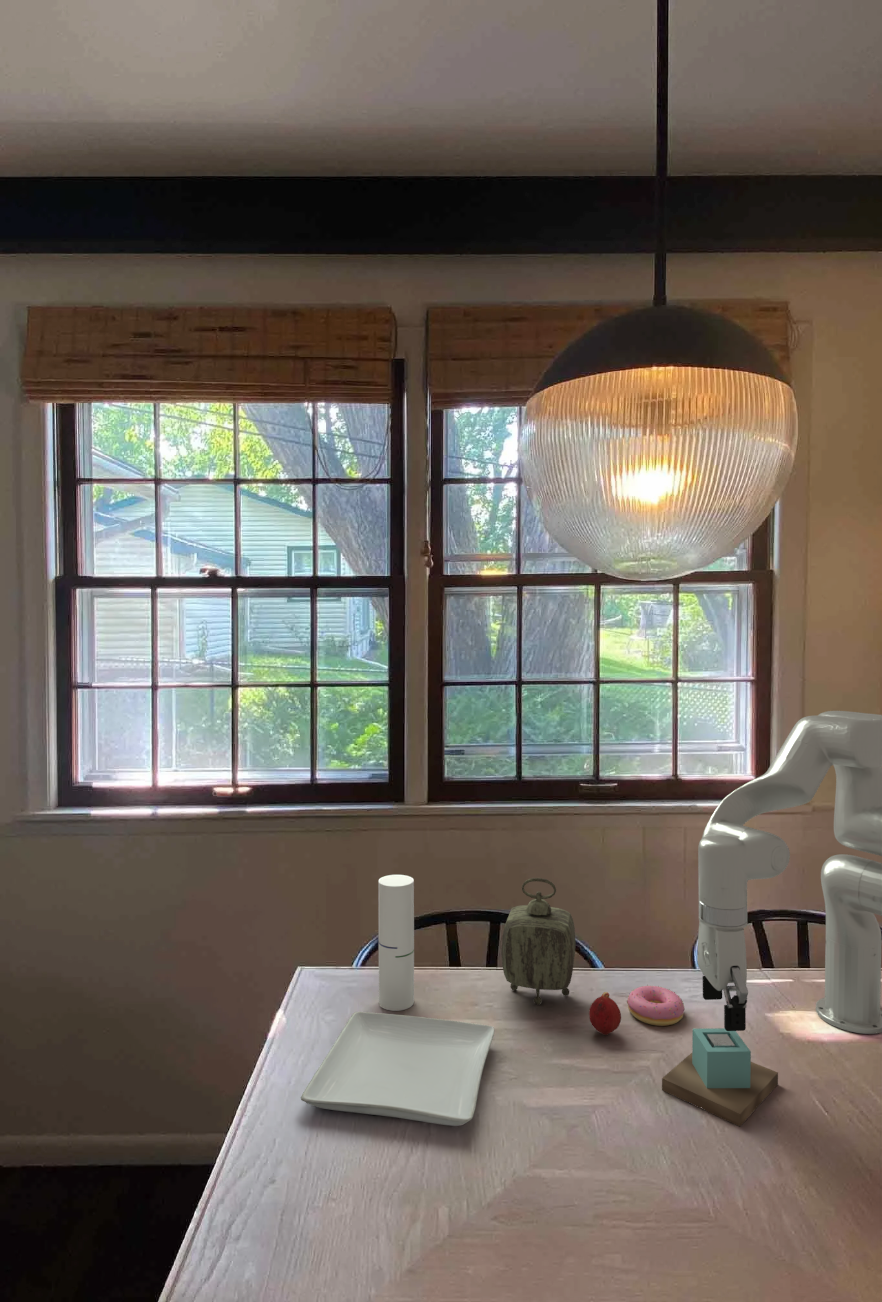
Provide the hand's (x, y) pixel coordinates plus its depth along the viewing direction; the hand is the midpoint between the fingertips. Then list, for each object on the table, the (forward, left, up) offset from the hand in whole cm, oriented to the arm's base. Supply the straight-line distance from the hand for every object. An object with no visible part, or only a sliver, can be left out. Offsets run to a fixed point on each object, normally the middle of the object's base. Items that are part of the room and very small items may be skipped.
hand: (723, 1013), depth 125 cm
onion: (0, -23, -12) cm, 26 cm away
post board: (+1, 0, -12) cm, 12 cm away
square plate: (+35, -40, -13) cm, 54 cm away
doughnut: (-14, -20, -13) cm, 27 cm away
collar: (+1, 0, -10) cm, 10 cm away
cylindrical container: (+19, -60, -12) cm, 64 cm away
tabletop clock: (-2, -40, -12) cm, 42 cm away
